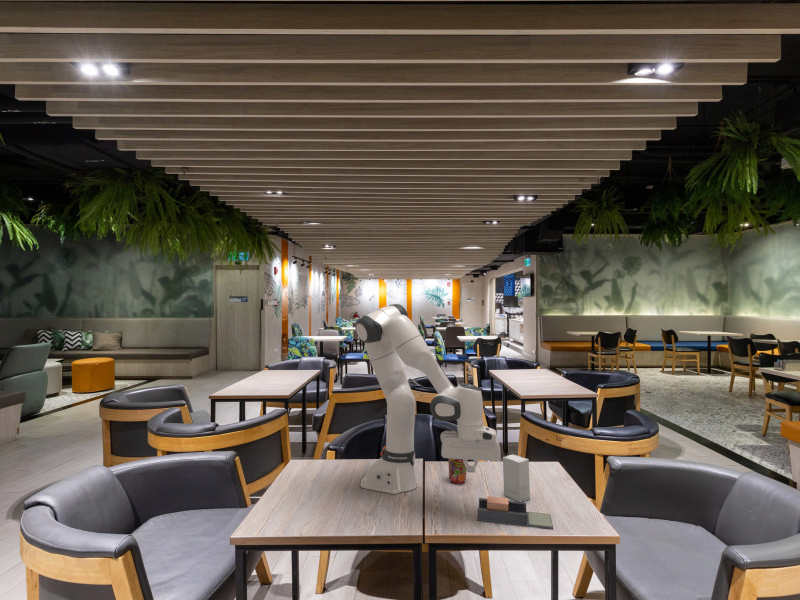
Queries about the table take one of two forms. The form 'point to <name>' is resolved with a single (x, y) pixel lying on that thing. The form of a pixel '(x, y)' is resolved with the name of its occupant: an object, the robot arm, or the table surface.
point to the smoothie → (457, 470)
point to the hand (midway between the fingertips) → (471, 471)
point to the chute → (513, 515)
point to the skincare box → (516, 478)
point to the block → (497, 503)
